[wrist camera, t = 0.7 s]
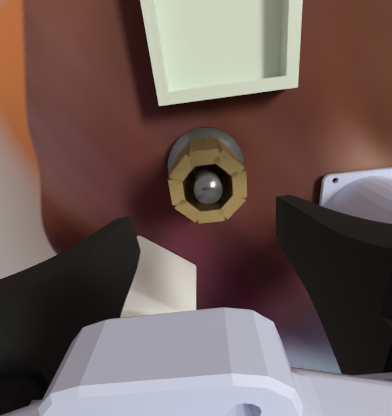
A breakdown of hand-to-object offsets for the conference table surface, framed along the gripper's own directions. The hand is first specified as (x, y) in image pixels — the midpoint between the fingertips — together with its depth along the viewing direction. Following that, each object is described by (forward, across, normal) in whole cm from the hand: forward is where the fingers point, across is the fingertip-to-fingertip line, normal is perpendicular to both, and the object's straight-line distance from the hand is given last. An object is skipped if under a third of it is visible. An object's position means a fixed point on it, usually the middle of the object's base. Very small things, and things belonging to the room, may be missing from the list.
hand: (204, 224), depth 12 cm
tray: (+10, -3, -10) cm, 14 cm away
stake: (+10, 0, 0) cm, 10 cm away
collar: (+9, 0, 0) cm, 9 cm away
